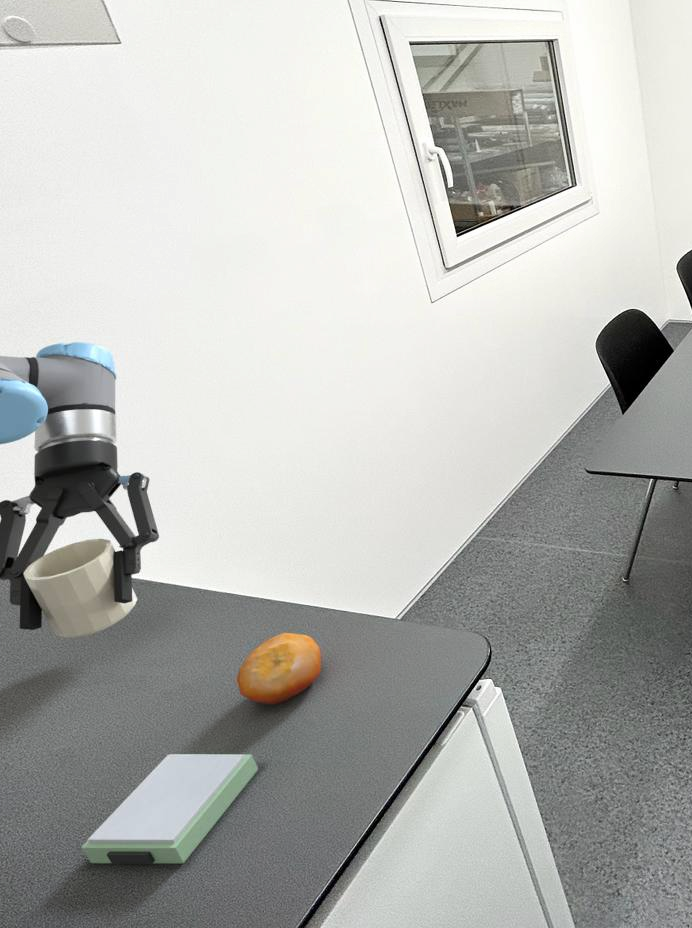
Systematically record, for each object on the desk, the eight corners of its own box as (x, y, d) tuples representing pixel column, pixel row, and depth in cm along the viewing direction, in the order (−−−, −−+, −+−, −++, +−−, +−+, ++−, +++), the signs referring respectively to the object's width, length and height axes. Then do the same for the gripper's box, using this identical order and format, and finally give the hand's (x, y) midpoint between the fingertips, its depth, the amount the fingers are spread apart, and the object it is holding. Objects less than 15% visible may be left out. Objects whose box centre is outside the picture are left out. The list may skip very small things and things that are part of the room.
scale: (87, 867, 61) (74, 847, 60) (177, 769, 70) (167, 750, 69) (180, 867, 61) (169, 848, 60) (258, 769, 70) (250, 751, 69)
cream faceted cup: (45, 650, 79) (11, 588, 75) (69, 610, 85) (38, 551, 81) (128, 625, 83) (99, 565, 79) (145, 589, 89) (119, 531, 85)
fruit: (309, 635, 86) (304, 612, 81) (333, 685, 83) (329, 664, 78) (233, 675, 80) (223, 653, 75) (256, 730, 77) (247, 710, 72)
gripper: (186, 437, 95) (196, 586, 88) (-15, 477, 85) (-22, 650, 78) (164, 421, 89) (173, 580, 82) (-55, 462, 79) (-67, 648, 72)
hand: (78, 614), depth 80 cm, fingers closed on cream faceted cup, 8 cm apart
